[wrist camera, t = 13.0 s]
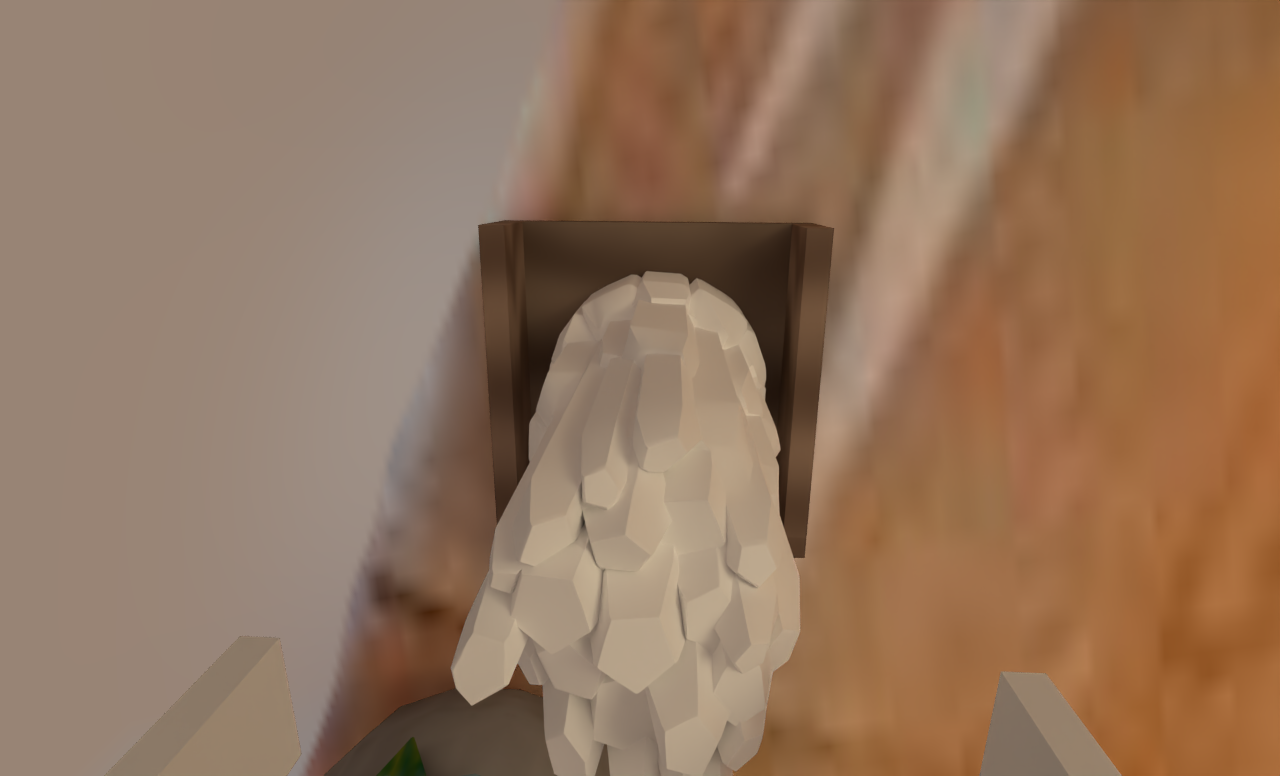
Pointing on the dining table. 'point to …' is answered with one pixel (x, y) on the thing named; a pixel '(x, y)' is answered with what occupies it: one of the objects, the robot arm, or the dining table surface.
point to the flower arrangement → (458, 739)
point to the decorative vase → (644, 541)
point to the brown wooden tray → (611, 250)
